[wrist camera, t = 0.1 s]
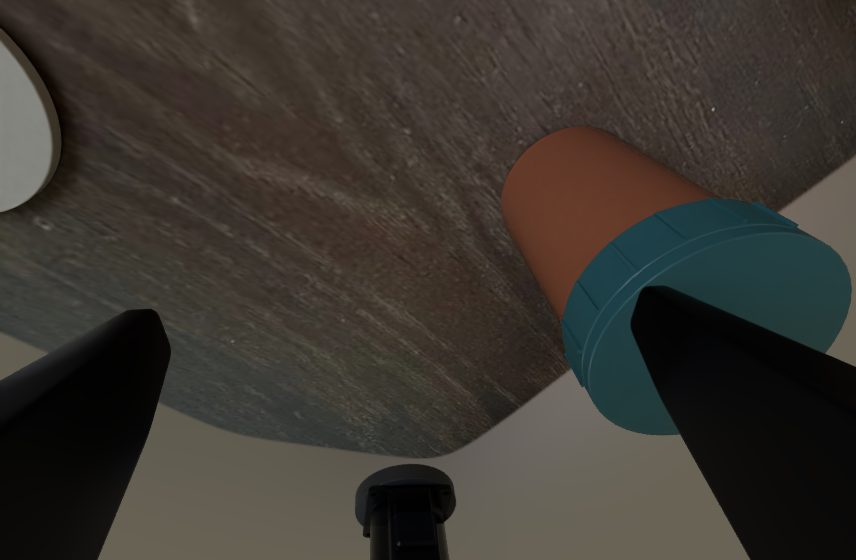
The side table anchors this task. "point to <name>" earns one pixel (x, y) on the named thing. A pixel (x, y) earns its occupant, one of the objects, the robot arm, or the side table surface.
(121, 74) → the side table surface
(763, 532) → the robot arm
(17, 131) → the saucer
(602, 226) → the jar
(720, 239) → the lid
